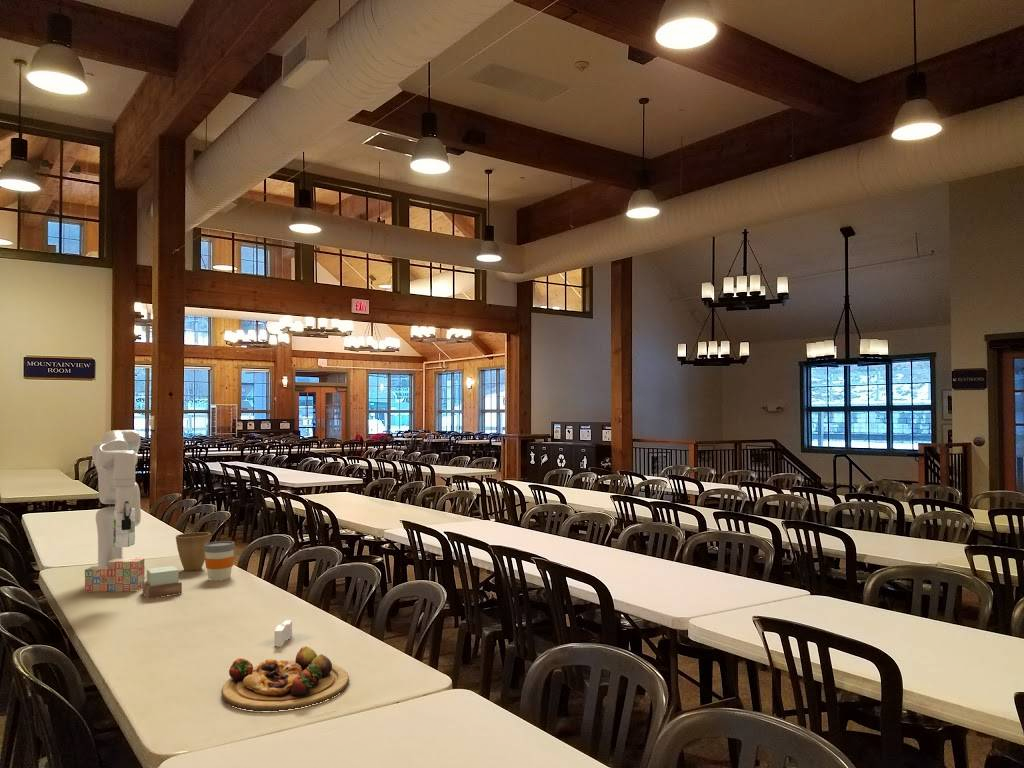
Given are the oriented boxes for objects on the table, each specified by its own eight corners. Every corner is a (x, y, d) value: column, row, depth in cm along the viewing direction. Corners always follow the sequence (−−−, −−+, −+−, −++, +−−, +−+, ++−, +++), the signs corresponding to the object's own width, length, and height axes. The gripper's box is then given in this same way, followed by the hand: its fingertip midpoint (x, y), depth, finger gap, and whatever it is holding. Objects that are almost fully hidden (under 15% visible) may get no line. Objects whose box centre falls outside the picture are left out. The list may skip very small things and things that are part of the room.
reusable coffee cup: (197, 580, 320) (197, 545, 321) (219, 574, 332) (219, 540, 332) (220, 582, 316) (220, 547, 316) (241, 576, 327) (241, 541, 328)
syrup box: (119, 544, 293) (120, 507, 293) (135, 544, 293) (135, 507, 293) (112, 547, 287) (113, 509, 287) (128, 547, 287) (128, 509, 288)
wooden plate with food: (192, 704, 185) (192, 671, 185) (276, 661, 215) (276, 632, 215) (299, 724, 174) (299, 689, 174) (371, 676, 204) (371, 646, 204)
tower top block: (146, 581, 299) (146, 568, 299) (173, 578, 305) (173, 565, 305) (150, 586, 291) (151, 573, 291) (178, 582, 297) (178, 569, 297)
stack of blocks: (84, 592, 302) (84, 562, 302) (92, 588, 308) (92, 558, 309) (137, 591, 303) (137, 560, 303) (144, 587, 309) (144, 557, 309)
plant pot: (213, 569, 341) (213, 534, 341) (178, 574, 332) (178, 538, 333) (206, 564, 353) (206, 530, 353) (172, 568, 345) (172, 534, 345)
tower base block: (142, 594, 299) (142, 581, 299) (174, 589, 306) (174, 577, 306) (148, 600, 289) (148, 587, 289) (181, 595, 296) (181, 582, 297)
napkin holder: (279, 651, 225) (279, 632, 226) (254, 646, 231) (253, 627, 231) (315, 638, 238) (315, 620, 238) (290, 633, 244) (290, 615, 244)
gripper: (110, 482, 295) (110, 526, 295) (117, 485, 281) (117, 532, 281) (131, 480, 300) (131, 524, 299) (139, 484, 286) (139, 530, 285)
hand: (124, 528), depth 290 cm, fingers closed on syrup box, 7 cm apart
